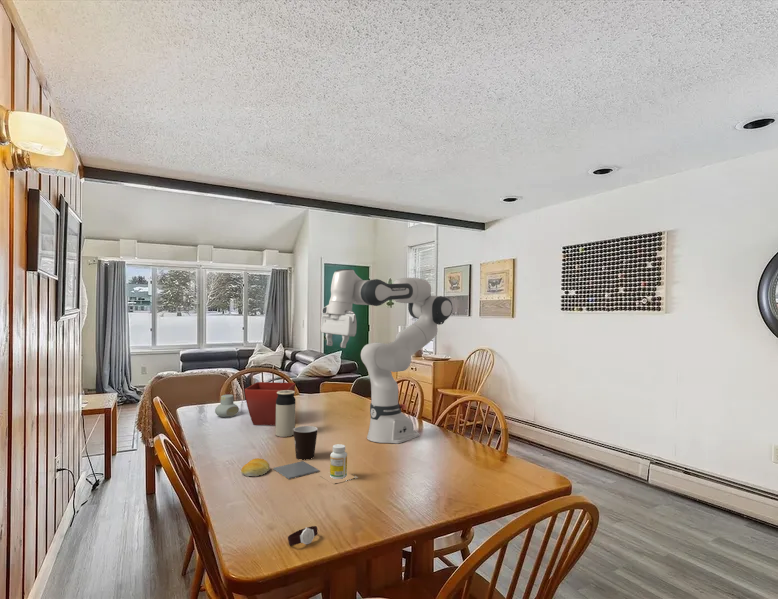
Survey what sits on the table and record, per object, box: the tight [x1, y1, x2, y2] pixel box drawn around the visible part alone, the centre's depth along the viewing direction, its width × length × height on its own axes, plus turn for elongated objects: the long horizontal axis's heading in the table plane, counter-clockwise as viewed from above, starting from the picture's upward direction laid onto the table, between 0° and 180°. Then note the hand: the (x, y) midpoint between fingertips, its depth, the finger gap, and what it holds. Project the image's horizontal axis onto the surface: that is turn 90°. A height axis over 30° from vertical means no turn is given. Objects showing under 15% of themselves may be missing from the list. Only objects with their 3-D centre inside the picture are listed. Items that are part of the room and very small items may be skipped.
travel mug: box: [275, 390, 296, 438], centre depth 191 cm, size 8×8×18 cm
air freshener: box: [214, 394, 240, 419], centre depth 221 cm, size 11×8×10 cm
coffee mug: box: [293, 425, 318, 461], centre depth 165 cm, size 12×9×10 cm
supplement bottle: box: [329, 443, 348, 479], centre depth 145 cm, size 5×5×10 cm
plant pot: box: [244, 381, 296, 426], centre depth 211 cm, size 19×19×17 cm
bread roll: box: [240, 458, 271, 477], centre depth 148 cm, size 8×9×4 cm
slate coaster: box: [272, 460, 320, 480], centre depth 150 cm, size 11×11×1 cm
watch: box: [287, 525, 319, 546], centre depth 105 cm, size 8×5×4 cm, turn 138°
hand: (335, 346), depth 172 cm, fingers open, 8 cm apart
